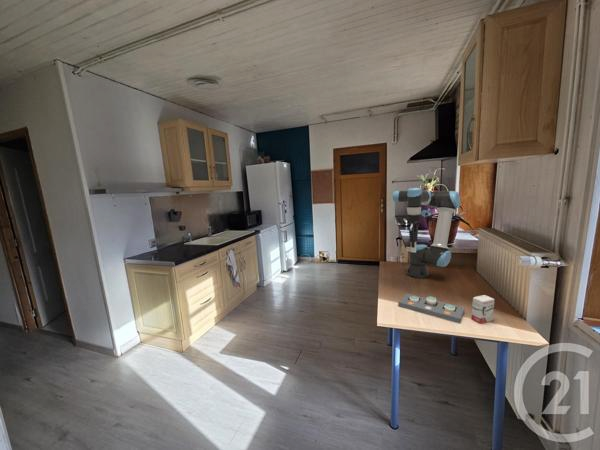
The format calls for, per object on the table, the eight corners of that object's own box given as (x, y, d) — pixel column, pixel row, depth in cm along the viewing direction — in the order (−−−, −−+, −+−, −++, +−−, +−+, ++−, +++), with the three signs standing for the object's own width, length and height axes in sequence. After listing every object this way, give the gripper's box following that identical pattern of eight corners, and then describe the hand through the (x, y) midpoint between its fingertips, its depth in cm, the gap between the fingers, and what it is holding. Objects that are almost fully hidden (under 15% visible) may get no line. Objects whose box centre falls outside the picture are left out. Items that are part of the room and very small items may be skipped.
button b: (427, 300, 139) (427, 295, 139) (436, 303, 136) (437, 297, 136) (425, 304, 136) (425, 298, 135) (434, 306, 133) (435, 300, 132)
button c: (445, 308, 134) (445, 302, 133) (455, 311, 131) (455, 305, 130) (443, 312, 130) (443, 306, 130) (453, 315, 127) (454, 308, 127)
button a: (410, 300, 146) (411, 294, 145) (419, 302, 142) (419, 296, 142) (408, 303, 142) (408, 297, 141) (417, 305, 139) (417, 299, 138)
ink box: (480, 324, 119) (482, 301, 117) (470, 319, 123) (472, 297, 122) (493, 320, 121) (495, 298, 119) (483, 315, 126) (485, 294, 124)
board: (406, 297, 150) (406, 293, 149) (464, 311, 130) (464, 307, 130) (398, 306, 139) (398, 301, 139) (460, 323, 120) (460, 318, 120)
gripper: (410, 212, 152) (410, 248, 156) (404, 215, 143) (403, 253, 147) (423, 212, 148) (422, 250, 152) (417, 215, 138) (417, 255, 142)
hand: (413, 252), depth 149 cm, fingers closed
